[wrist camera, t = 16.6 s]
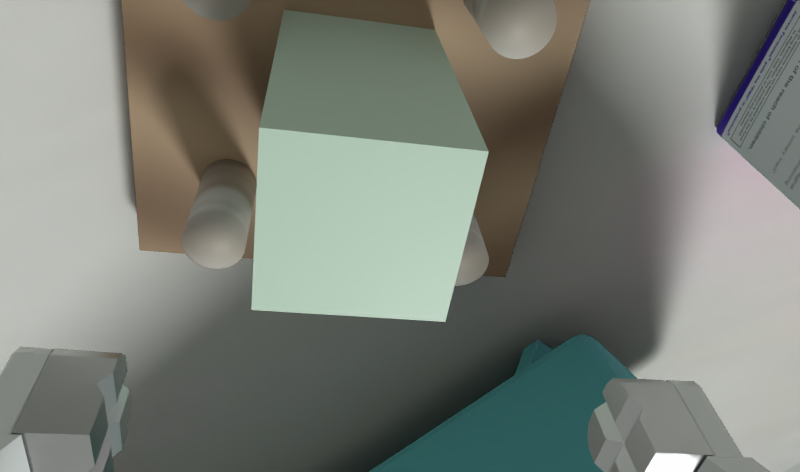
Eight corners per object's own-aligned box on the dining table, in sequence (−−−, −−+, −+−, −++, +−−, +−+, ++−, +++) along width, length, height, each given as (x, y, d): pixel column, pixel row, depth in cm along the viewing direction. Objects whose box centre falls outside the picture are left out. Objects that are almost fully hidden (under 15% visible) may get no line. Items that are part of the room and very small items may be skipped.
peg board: (120, -204, 19) (54, -202, 14) (607, -118, 21) (682, -93, 17) (148, 228, 27) (111, 317, 22) (497, 256, 29) (528, 341, 25)
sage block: (284, 9, 21) (259, 127, 14) (435, 29, 22) (488, 151, 15) (275, 148, 24) (251, 310, 16) (410, 162, 25) (445, 321, 17)
